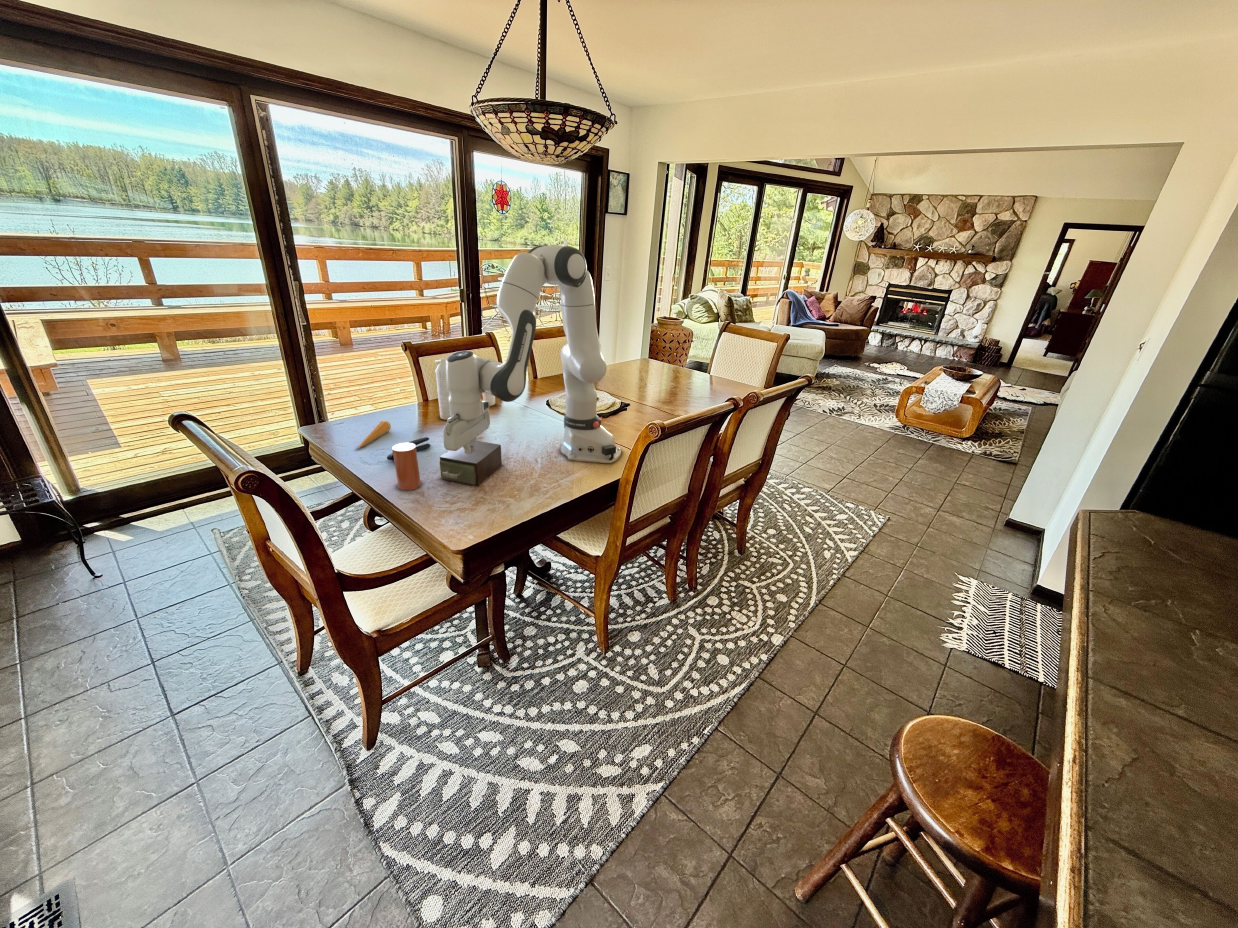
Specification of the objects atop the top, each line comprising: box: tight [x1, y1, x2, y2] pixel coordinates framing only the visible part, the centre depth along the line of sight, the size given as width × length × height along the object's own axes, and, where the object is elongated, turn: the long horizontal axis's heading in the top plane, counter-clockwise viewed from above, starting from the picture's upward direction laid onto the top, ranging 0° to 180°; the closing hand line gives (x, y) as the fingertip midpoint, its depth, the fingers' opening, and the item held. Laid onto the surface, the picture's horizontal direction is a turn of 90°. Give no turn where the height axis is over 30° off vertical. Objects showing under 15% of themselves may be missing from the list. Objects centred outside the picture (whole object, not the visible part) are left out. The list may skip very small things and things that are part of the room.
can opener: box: [386, 436, 431, 462], centre depth 166 cm, size 18×7×6 cm, turn 159°
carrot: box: [357, 420, 392, 450], centre depth 176 cm, size 20×4×4 cm, turn 174°
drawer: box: [439, 460, 476, 485], centre depth 153 cm, size 19×12×6 cm, turn 165°
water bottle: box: [434, 357, 451, 421], centre depth 195 cm, size 9×6×25 cm
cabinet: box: [439, 440, 503, 487], centre depth 157 cm, size 16×13×8 cm
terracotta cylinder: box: [391, 442, 422, 491], centre depth 145 cm, size 6×6×13 cm
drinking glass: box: [481, 392, 496, 407], centre depth 216 cm, size 7×7×15 cm
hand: (470, 452), depth 144 cm, fingers closed
